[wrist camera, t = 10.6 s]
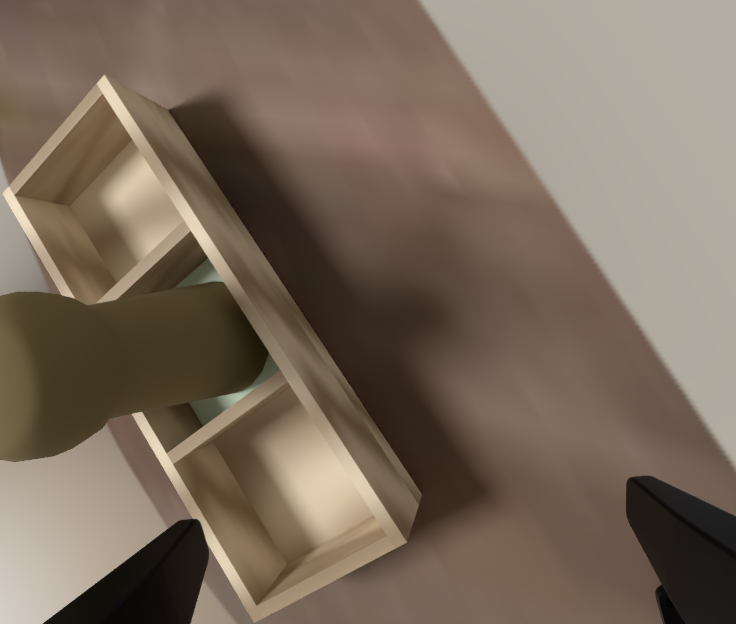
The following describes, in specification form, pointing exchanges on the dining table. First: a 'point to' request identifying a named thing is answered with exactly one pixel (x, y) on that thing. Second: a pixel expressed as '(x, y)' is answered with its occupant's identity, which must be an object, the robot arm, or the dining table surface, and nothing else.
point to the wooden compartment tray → (233, 411)
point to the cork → (114, 361)
